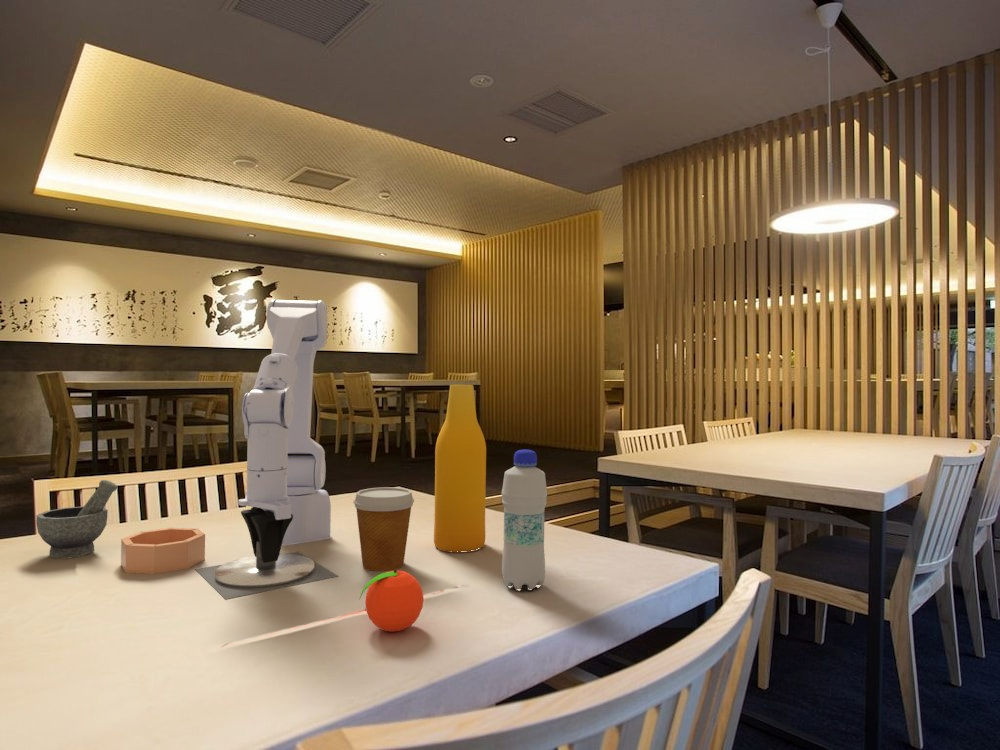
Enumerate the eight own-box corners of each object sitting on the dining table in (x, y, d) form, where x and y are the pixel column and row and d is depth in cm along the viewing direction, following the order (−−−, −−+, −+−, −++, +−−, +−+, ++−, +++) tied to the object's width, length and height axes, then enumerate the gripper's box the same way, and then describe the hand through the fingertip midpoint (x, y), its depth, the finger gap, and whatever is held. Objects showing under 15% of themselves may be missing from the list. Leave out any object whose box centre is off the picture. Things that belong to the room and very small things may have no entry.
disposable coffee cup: (424, 563, 100) (425, 490, 100) (390, 581, 92) (391, 500, 92) (376, 556, 104) (377, 485, 104) (339, 571, 96) (340, 494, 96)
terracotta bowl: (192, 551, 106) (193, 524, 106) (210, 567, 97) (210, 538, 97) (117, 562, 99) (118, 534, 99) (129, 580, 90) (129, 550, 90)
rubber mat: (297, 554, 105) (297, 551, 105) (338, 579, 92) (338, 575, 92) (195, 572, 95) (195, 569, 95) (225, 602, 82) (225, 599, 82)
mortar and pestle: (30, 564, 97) (32, 488, 97) (40, 549, 105) (41, 479, 106) (114, 555, 103) (116, 483, 103) (117, 542, 111) (119, 475, 111)
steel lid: (294, 553, 103) (294, 525, 103) (329, 575, 92) (329, 543, 92) (203, 569, 94) (204, 538, 94) (231, 595, 84) (231, 559, 84)
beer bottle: (472, 556, 105) (474, 385, 105) (424, 549, 109) (426, 384, 109) (493, 542, 114) (495, 385, 114) (448, 537, 117) (450, 384, 117)
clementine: (371, 649, 69) (372, 585, 69) (347, 628, 75) (347, 569, 75) (433, 632, 74) (434, 572, 74) (406, 614, 79) (407, 558, 79)
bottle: (551, 582, 92) (553, 448, 92) (539, 597, 86) (541, 453, 86) (508, 576, 94) (510, 445, 95) (493, 591, 88) (495, 450, 88)
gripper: (225, 464, 97) (224, 552, 96) (256, 477, 85) (254, 575, 85) (271, 461, 101) (270, 544, 101) (305, 472, 90) (304, 566, 90)
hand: (266, 558), depth 93 cm, fingers closed on steel lid, 3 cm apart
